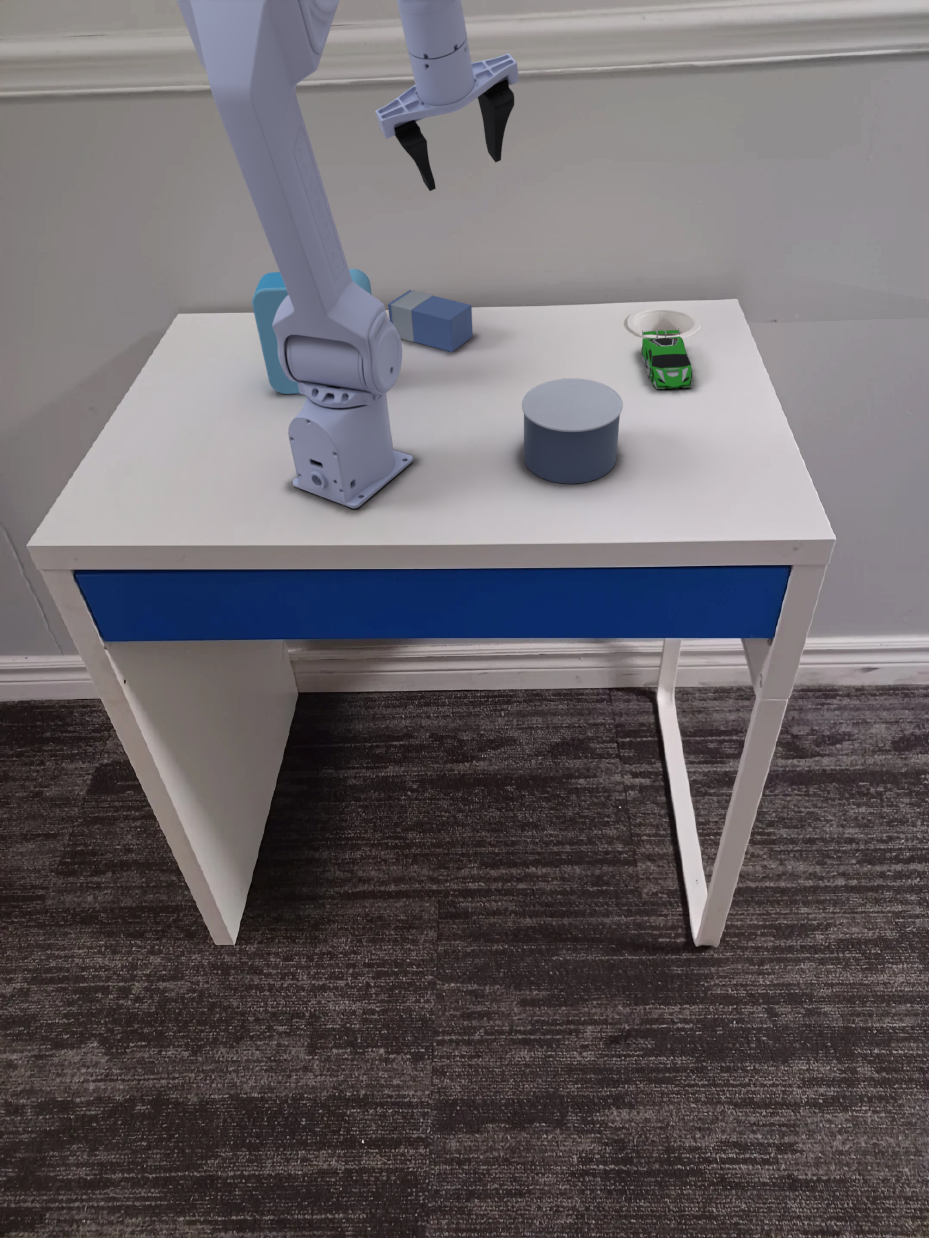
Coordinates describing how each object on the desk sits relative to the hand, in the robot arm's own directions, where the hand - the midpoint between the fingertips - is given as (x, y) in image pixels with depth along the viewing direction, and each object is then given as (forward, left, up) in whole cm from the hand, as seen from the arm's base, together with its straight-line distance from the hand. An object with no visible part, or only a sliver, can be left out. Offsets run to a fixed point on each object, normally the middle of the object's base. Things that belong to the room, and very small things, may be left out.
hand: (462, 170), depth 95 cm
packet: (-3, +4, -18) cm, 19 cm away
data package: (-18, +8, -19) cm, 27 cm away
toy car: (+3, -24, -19) cm, 31 cm away
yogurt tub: (-18, -23, -18) cm, 35 cm away
